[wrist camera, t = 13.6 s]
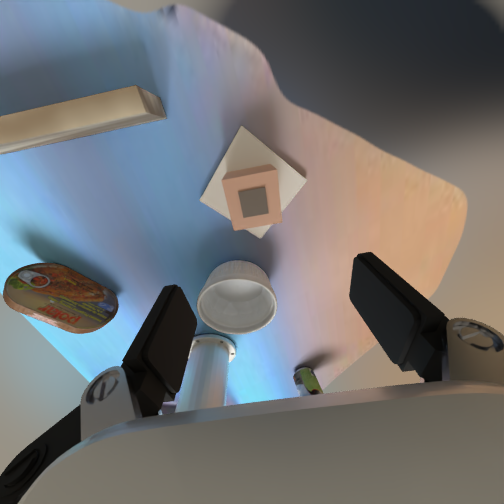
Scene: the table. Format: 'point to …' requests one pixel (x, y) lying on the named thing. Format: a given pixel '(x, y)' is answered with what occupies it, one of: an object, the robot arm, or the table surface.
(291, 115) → the table surface
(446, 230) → the table surface
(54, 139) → the wooden plank
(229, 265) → the ramekin
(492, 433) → the robot arm
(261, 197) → the marked cube
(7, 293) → the tin
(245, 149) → the display tile
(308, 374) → the beverage can
